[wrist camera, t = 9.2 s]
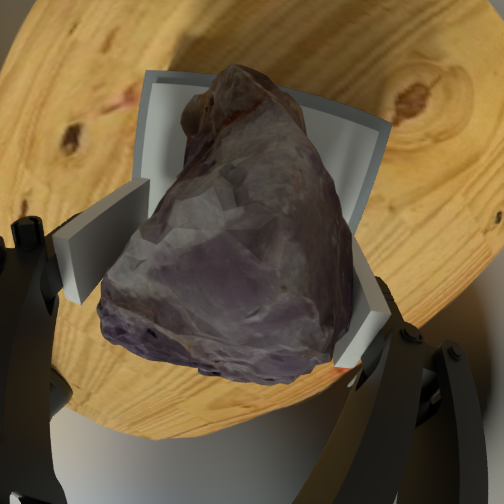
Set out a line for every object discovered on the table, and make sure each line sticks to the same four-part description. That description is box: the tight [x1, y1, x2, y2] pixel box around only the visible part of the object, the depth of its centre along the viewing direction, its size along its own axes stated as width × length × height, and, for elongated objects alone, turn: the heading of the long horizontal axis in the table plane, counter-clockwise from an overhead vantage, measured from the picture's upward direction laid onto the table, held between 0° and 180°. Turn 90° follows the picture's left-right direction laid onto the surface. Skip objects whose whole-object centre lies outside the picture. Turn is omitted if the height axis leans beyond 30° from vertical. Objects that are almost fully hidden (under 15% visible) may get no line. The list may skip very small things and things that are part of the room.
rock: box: [96, 64, 353, 386], centre depth 10 cm, size 12×9×10 cm
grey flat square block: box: [132, 70, 393, 235], centre depth 17 cm, size 14×14×3 cm
